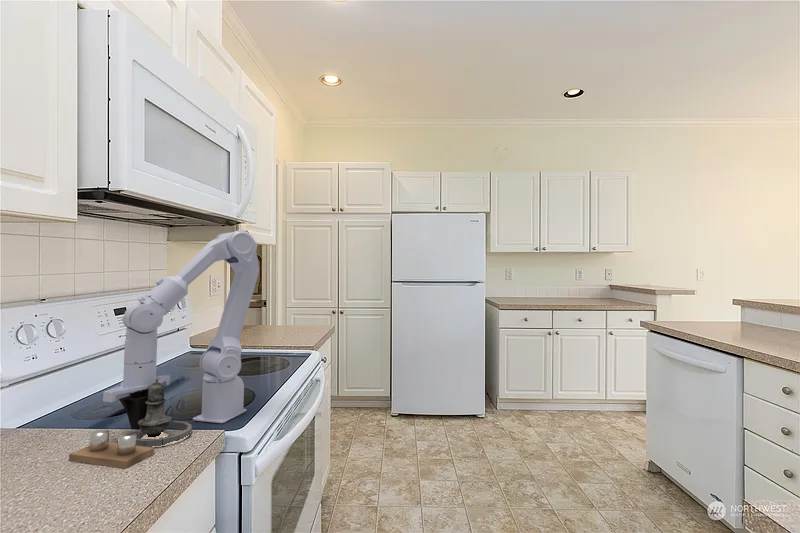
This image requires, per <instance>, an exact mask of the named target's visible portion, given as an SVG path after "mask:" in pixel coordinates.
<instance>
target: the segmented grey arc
mask: <svg viewBox="0 0 800 533" xmlns="http://www.w3.org/2000/svg"><path fill="white" fill-rule="evenodd" d="M172 429H173V430H179V431H181V432H179V433H177V434H174V435H169V437H165V438H159V439H139V438H140V437H138V438H137V439H136V446H145V447H152V446H161V445H165V444H167V443H170V442H173V441H178V440H180V439H183V438H184V437H186V436H188V435H190V432H191V431H192V432H193V425H192V424H191V423H189V422H187V421H182V420H181V421H179V420H174V421H173V422H172ZM184 430H185V431H184ZM190 436H191V435H190Z"/></svg>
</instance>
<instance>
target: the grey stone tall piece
mask: <svg viewBox="0 0 800 533" xmlns="http://www.w3.org/2000/svg"><path fill="white" fill-rule="evenodd" d="M155 381H156V382H155V383H153V384H151V385H150V386H149V388H148V401H146V404H147V413H146V416H145V418H144V419H141V420H139V422H138V424H139V425H140V429H139V430H140V431H141V433H143V434H144V435H145V434H147V435H148V437H156V436H159V435H160V434H161V432H165V431H166V430H167V429H168V428H169V425H170V422H171V420H172V419H173V418H172V416H170V415H166V414H165V403H166V401H167V399H165V385H163V384H162V383H159V382H158V381H159V380H158V379H156V380H155Z"/></svg>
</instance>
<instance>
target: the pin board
mask: <svg viewBox="0 0 800 533" xmlns="http://www.w3.org/2000/svg"><path fill="white" fill-rule="evenodd" d="M89 434H90V435H89V445H88V446H86V447H84V448H81V449H78V450H76V451H73V452H70V453H69V454H68V457H69V458H68V461H69V462H73V461H76V462H75V463H81V462H83V464H88V463H90V464H89V465H95V464H96V466H102V465H103V466H104V467H110V466H112V467H111V468H118V469H128V468H130V467H133V466H134V465H135V464H138V463H140V462H142V461H143V459H144V460H146V459H147V457H148V458H150V457H151V455H152V454H154V455H155V448H153V447H145V446H136V439H137V437H138V436H137V435H138V434H137V433H136V432H126V433H125V432H124V433H122V434H119V435H117V442H111V441H110V429H106V428H105V429H98V430H94V431H92V432H90V433H89ZM149 456H150V457H149ZM152 456H153V455H152ZM145 458H146V459H145Z"/></svg>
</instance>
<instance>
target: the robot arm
mask: <svg viewBox="0 0 800 533" xmlns="http://www.w3.org/2000/svg"><path fill="white" fill-rule="evenodd" d="M258 246H259V245H258V243H257V242H256V241H255V239H254V237H253V236H252V235H251V234H250V233H249V232H248V231H247V230H242V229H241V230H236V231H232V232H231V231H230V232H222V233H219V234H218V235H217V236H216V237H215V238H214V239H211V240H210V241H209V242H208V243H207V244H206V245H204V247H203V248H202V249H201V250H200V251H198V253H197V254H195V256H194V257H193V258H192V259H191V260H190V261H189V262H188V263H187V264H186V265H185V266H184V267H183V268H182V269H180V271H179V272H178V273H177V274H176V275H171V276H170V275H168V276H167V275H166V276H165V277H164V278H158V279H157V280H155V284H156V285H155V286H154V287H153V288H152V289H151V290H149V291H148V292H147V293H146V294H145V295H144V296H139V298H137V300H138V302H139V303H135V304H132V305H130V306H129V307H128V308H127V309H126V310H125V312H124V315H123V316H122V318H121V321H122V323H123V325H124V327H125V328H126V329H125V340H124V354H123V355H124V357H123V376H122V381H121V382H120V383H119V384H120V385H118V386H115V387H113V388H110V389H108V390H105V391H103V396H102V401H103V402H104V403H114V402H116V400H118V401H119V402H120V403H121V405H122V406H123V408H124V410H125V412H126V414H127V417H128V418H127V419H128V421H129V426H130V429H132V430H138V431H139V430H140V425H139V424H138V422H139V420H141V419H144V418H145V416H146V413H147V404H146V401H148V388H149V386H150V385H151V384H153V383H155V382H156V381H155V380H156V379H158V380H159V381H158V382H159V383H162V384H163V385H164V386H168V385H170V384H171V375H165V374H164V375H163V374H162V375H159V376H157V358H158V357H157V355H158V354H157V353H158V352H157V350H158V328H159V327H161V325H162V323H163V321H164V316H166V315H167V314H169V312H170V311H171V310H173V309H174V308H175V307H176V306H177V305H178V304H179V303H180V302H182V300H183V299H185V297H186V296H187V295H188V288H189V285H190V284H191V283H193V282H194V281H195V280H196V279H197V278H198V277H200V275H202V274H203V273H204V272H205V271H207V270H208V269H209V268H210V267H211V266H212V265H213V264H215V263H216V262H219V261H225V262H226V263H227V264H228V265H229V266H230V268H231V269H232V271H233V272H234V275H233V278H232V282H231V285H230V289H229V291H228V296H227V299H226V301H225V305H224V308H223V312H222V315H221V318H220V321H219V324H218V328H217V332H216V334H215V336H214V337H213V338H212V339H211V340H210V341H209V343H208V346H207V348H206V350H205V351H204V352H203V353H202V354H201V356H200V359H199V368H200V369H201V371H202V372H203V373H204V374H203V377H202V393H201V394H202V395H201V396H202V397H201V399H202V400H201V414H198V415H196V416H194V417H193V418H192V421H196V422H197V421H198V422H205V423H206V422H207V423H216V424H224V423H226V422H229V421H230V420H232V419H234V418H236V417H239V416H240V415H241V414H244V413H245V412H247V408H244V403H245V401H244V396H245V393H244V392H245V384H244V382H243V379H242V378H241V377H240V376H238V374H239V373H240V371H241V369H242V359H241V358H242V352H243V348H242V345H241V342H240V339H241V334H242V331H243V328H244V325H245V321H246V318H247V314H248V310H249V308H250V304H251V301H252V297H253V294H254V291H255V287H256V284H257V280H258V276H259V273H260V265H259V260H258V254H257V250H258Z"/></svg>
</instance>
